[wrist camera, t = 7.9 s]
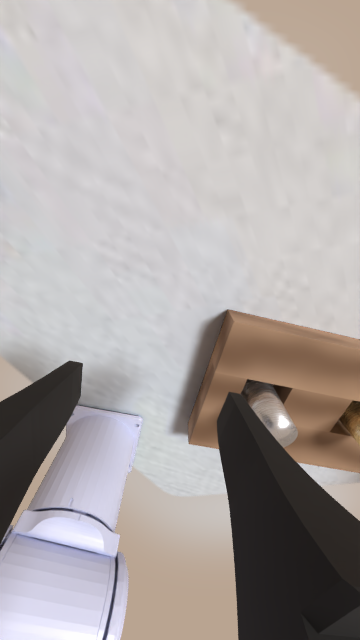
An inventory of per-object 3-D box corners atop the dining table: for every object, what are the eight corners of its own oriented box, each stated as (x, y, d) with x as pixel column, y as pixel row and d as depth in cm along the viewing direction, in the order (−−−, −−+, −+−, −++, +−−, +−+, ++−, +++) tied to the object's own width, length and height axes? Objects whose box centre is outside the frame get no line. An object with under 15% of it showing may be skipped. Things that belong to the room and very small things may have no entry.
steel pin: (262, 395, 23) (288, 451, 17) (234, 391, 23) (252, 446, 17) (272, 372, 22) (304, 424, 16) (243, 368, 21) (265, 419, 16)
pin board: (350, 452, 26) (366, 474, 24) (188, 423, 25) (188, 443, 22) (430, 355, 21) (460, 372, 18) (227, 309, 19) (234, 321, 17)
